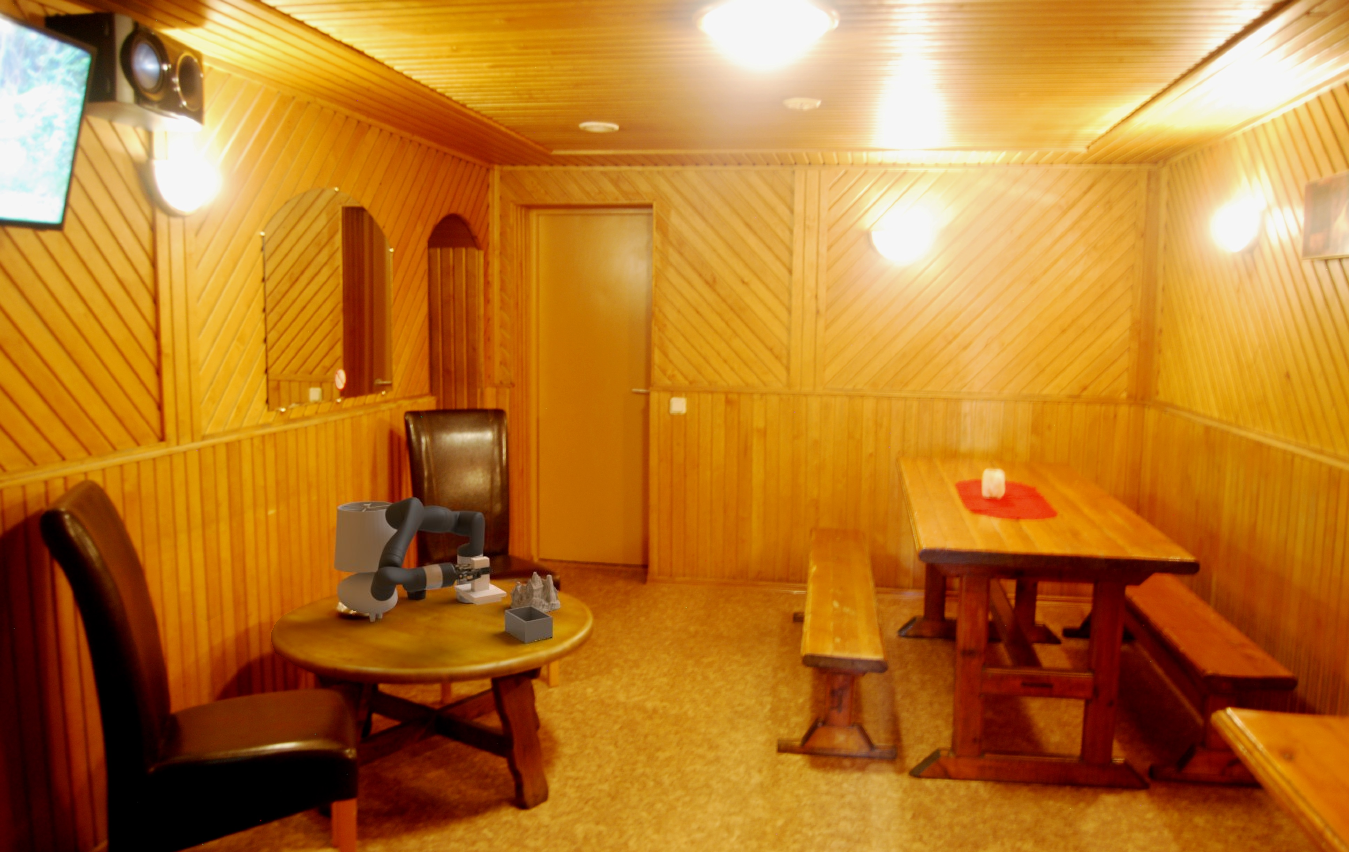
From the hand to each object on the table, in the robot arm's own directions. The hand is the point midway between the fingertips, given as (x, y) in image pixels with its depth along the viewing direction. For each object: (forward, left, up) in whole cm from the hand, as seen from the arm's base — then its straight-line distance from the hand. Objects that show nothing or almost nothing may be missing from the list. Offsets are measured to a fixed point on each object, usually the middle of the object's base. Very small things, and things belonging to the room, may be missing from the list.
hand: (488, 568), depth 300 cm
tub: (+2, +14, -24) cm, 28 cm away
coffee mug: (-58, +8, -24) cm, 63 cm away
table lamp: (-50, -16, -24) cm, 58 cm away
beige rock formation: (-20, +34, -25) cm, 46 cm away
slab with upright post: (-1, -3, -9) cm, 10 cm away
